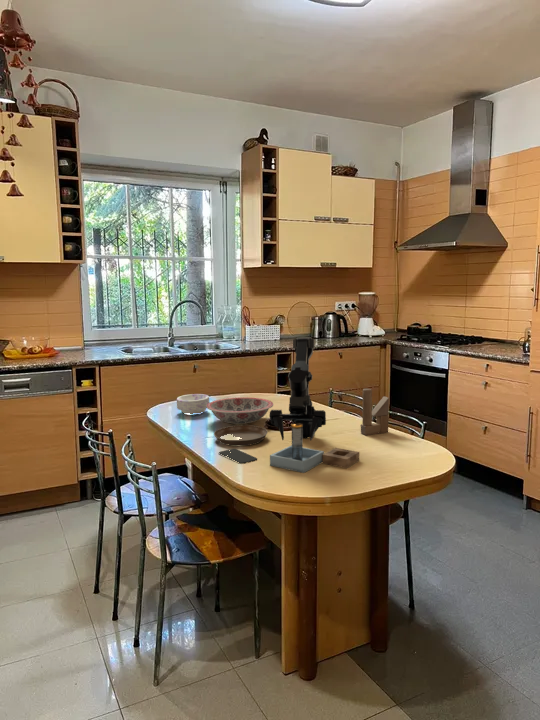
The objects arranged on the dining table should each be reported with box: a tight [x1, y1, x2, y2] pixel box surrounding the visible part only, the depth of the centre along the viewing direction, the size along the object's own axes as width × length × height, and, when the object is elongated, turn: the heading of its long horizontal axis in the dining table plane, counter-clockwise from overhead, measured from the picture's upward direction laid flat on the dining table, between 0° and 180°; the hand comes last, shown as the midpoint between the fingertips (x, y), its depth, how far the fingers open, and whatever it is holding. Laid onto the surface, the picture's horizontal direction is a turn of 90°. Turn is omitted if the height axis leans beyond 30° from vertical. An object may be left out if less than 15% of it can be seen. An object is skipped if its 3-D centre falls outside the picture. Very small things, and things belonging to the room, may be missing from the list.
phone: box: [218, 448, 258, 464], centre depth 185 cm, size 7×1×15 cm
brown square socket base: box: [322, 447, 360, 469], centre depth 177 cm, size 9×9×3 cm
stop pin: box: [290, 422, 304, 461], centre depth 175 cm, size 4×4×12 cm
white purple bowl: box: [176, 393, 210, 414], centre depth 249 cm, size 15×15×8 cm
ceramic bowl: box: [206, 396, 274, 425], centre depth 232 cm, size 29×29×8 cm
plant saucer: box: [213, 424, 268, 446], centre depth 205 cm, size 21×21×3 cm
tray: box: [269, 444, 325, 474], centre depth 176 cm, size 13×13×4 cm
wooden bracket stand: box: [360, 388, 390, 436], centre depth 210 cm, size 4×11×18 cm, turn 111°
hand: (296, 439), depth 174 cm, fingers open, 9 cm apart
